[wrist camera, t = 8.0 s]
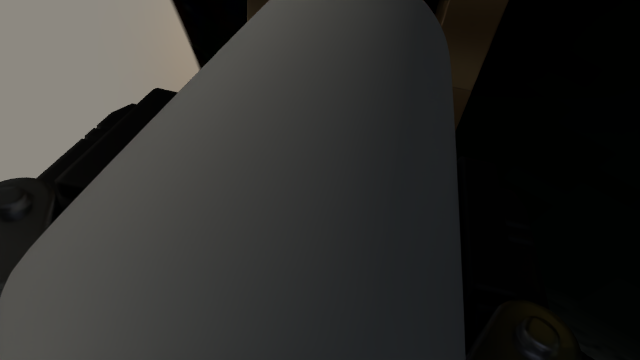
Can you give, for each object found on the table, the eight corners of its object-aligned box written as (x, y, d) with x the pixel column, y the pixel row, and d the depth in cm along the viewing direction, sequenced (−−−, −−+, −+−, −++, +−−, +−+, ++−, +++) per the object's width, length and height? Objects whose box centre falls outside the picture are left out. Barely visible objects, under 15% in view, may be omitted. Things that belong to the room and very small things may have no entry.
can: (229, -24, 12) (-290, 352, 4) (454, -56, 11) (529, 527, 2) (278, 150, 16) (91, 533, 8) (448, 148, 15) (463, 644, 6)
